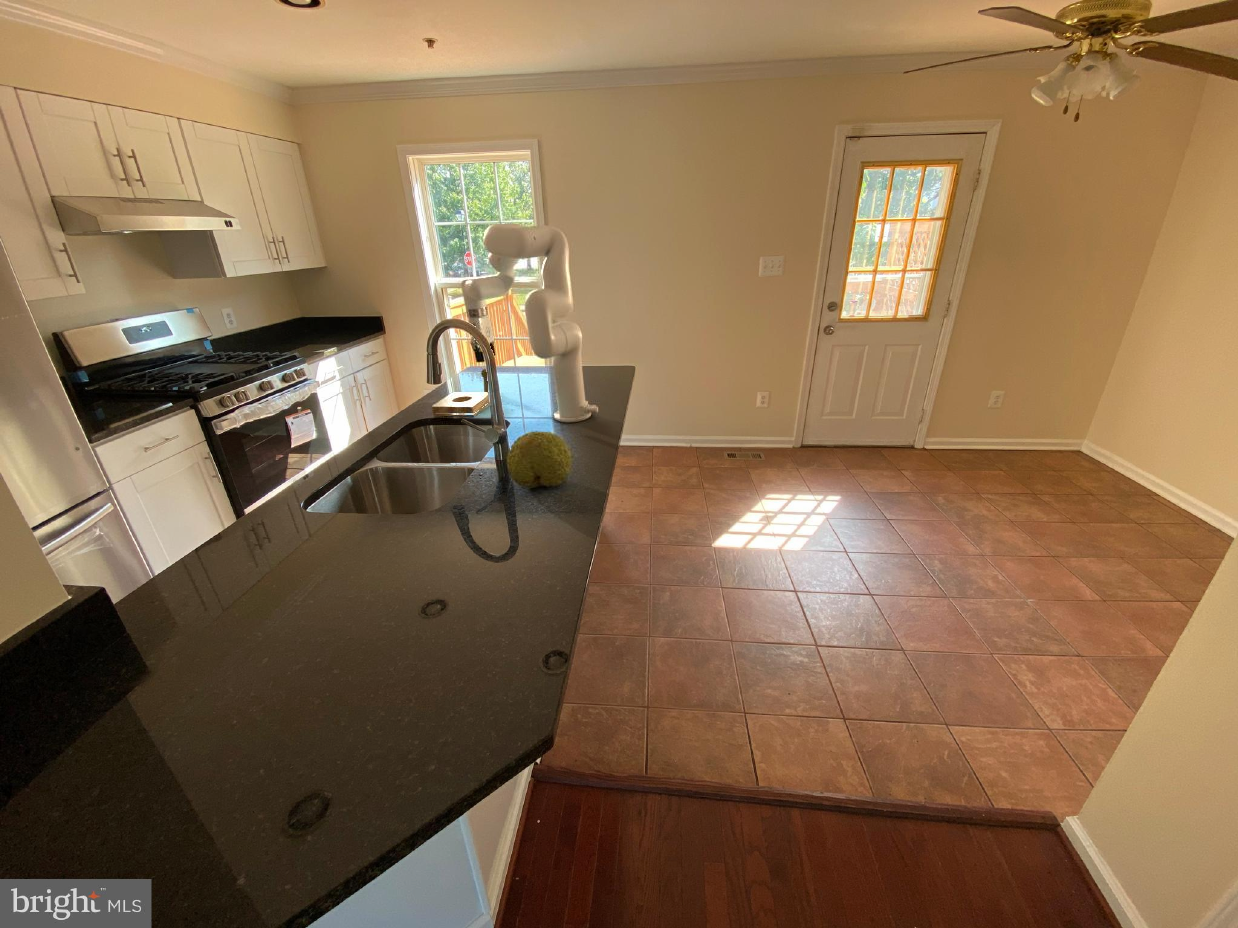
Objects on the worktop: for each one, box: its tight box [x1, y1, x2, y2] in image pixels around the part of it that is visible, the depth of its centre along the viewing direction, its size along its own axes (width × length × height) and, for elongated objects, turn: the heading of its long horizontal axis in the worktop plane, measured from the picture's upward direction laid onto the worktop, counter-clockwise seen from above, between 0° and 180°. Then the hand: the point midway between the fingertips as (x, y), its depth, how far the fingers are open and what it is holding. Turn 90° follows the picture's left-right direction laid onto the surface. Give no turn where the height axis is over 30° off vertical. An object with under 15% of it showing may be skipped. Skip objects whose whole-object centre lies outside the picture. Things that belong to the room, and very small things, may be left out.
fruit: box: [505, 430, 573, 489], centre depth 125 cm, size 16×14×15 cm
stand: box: [431, 391, 491, 418], centre depth 184 cm, size 16×16×4 cm
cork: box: [480, 368, 488, 393], centre depth 196 cm, size 6×6×11 cm
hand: (486, 358), depth 192 cm, fingers open, 9 cm apart
